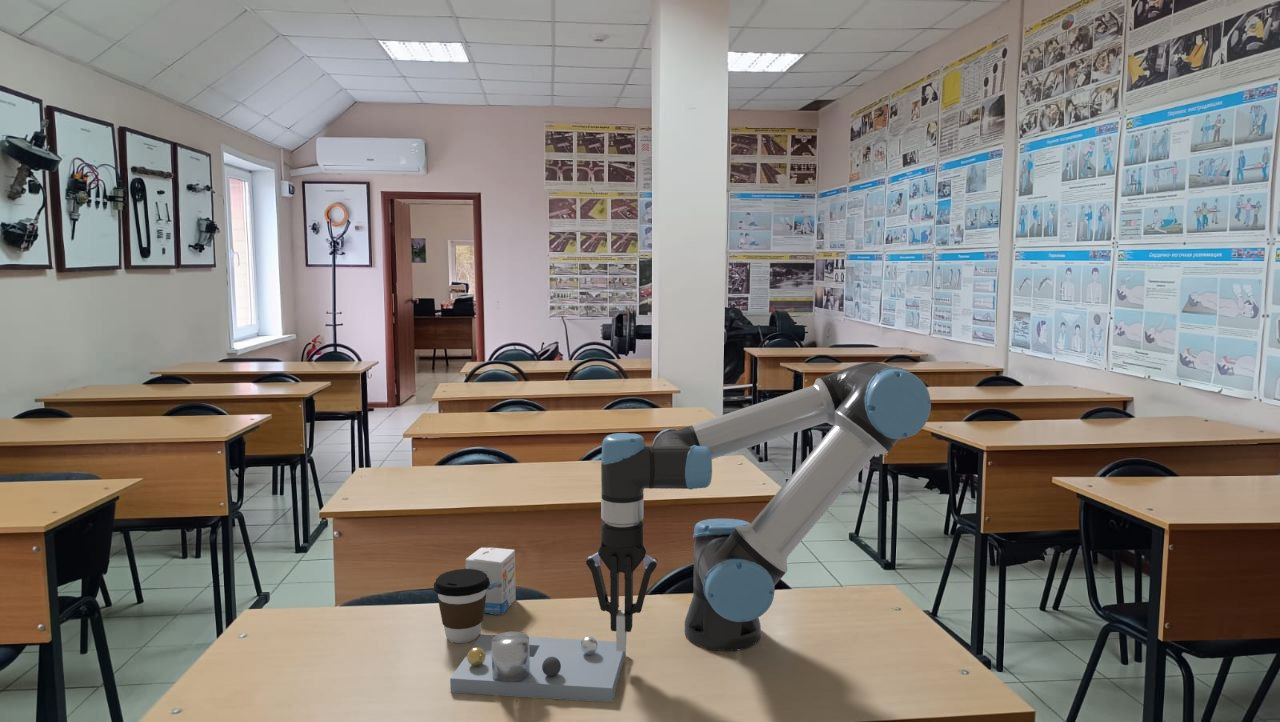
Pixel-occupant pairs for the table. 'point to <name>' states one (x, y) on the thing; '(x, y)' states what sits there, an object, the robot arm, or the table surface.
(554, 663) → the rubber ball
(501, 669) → the shiny silver cylinder
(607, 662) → the plate
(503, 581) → the ink box
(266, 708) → the table surface
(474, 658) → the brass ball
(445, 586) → the coffee cup
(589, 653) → the steel ball
